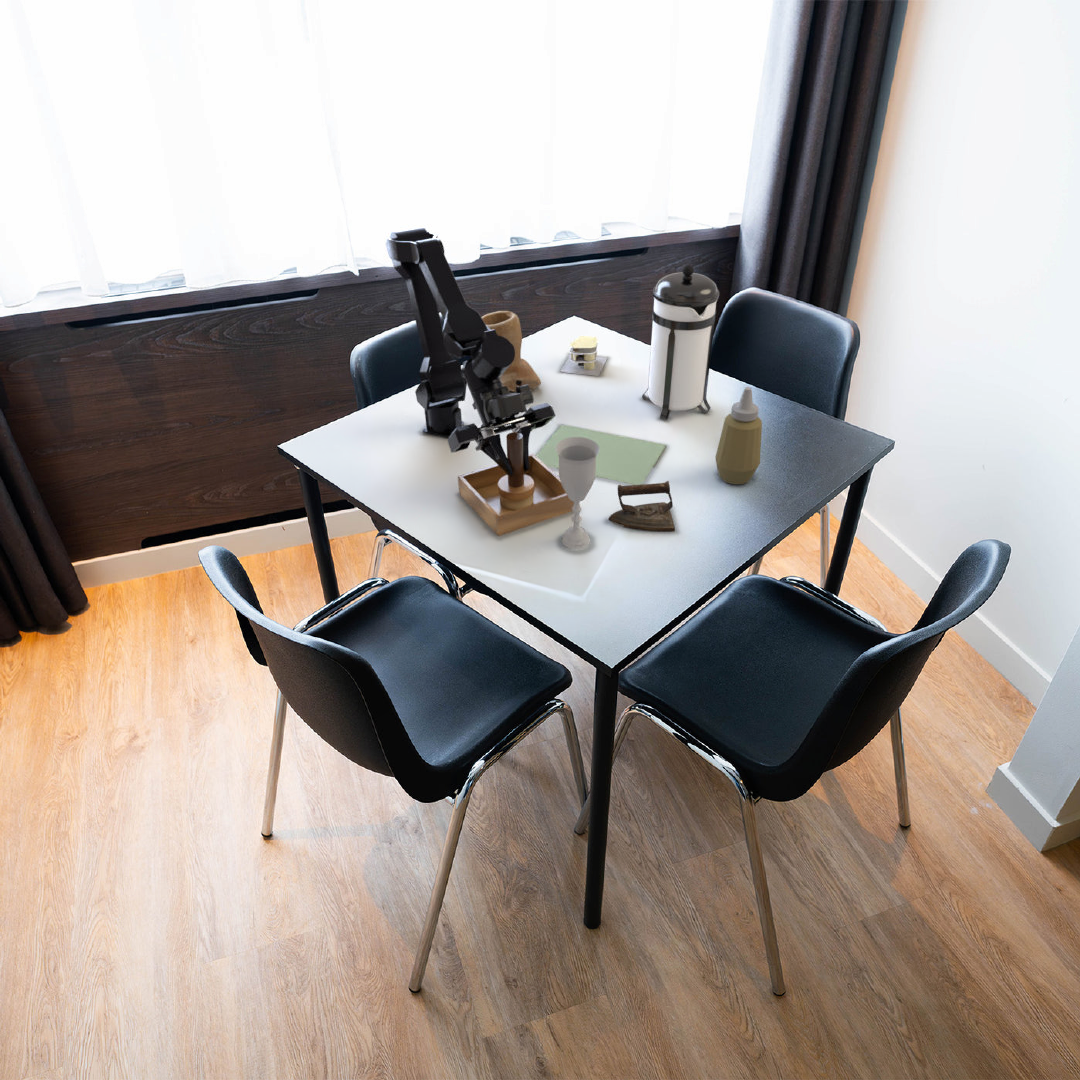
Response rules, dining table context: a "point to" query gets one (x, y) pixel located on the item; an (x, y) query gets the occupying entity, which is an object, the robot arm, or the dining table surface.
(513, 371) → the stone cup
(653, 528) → the clothes iron
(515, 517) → the tray
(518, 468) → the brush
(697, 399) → the coffee press
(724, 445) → the squeeze bottle
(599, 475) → the mat
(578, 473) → the chalice
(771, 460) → the dining table surface
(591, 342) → the stacked layers on plate
